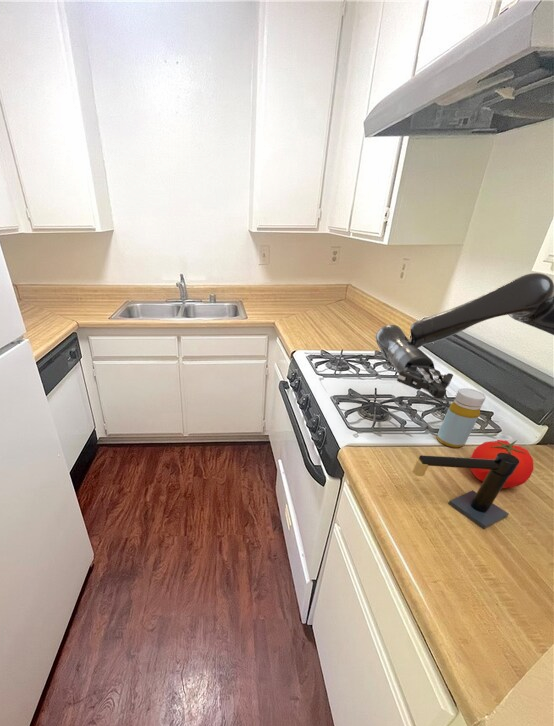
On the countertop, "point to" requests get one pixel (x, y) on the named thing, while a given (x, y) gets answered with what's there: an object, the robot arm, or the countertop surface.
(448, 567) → the countertop surface
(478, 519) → the faucet base
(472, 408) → the bottle
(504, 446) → the tomato
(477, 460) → the spout
